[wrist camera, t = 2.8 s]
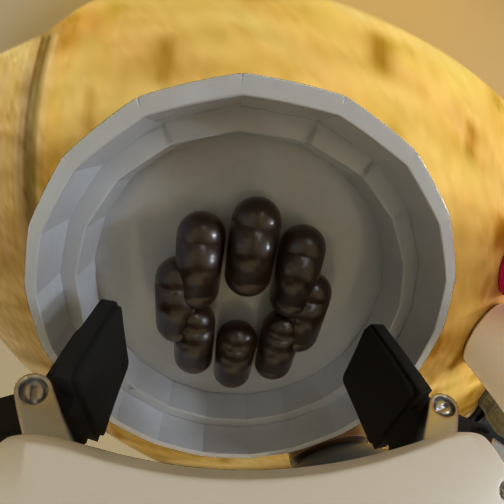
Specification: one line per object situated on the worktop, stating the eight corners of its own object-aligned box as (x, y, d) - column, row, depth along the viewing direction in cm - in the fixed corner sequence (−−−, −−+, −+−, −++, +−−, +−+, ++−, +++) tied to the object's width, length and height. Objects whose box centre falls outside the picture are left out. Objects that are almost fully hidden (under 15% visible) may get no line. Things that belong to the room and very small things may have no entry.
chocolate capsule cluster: (164, 181, 10) (152, 188, 8) (343, 207, 11) (362, 218, 9) (163, 362, 13) (157, 386, 11) (294, 372, 14) (300, 396, 12)
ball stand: (279, 394, 16) (312, 561, 5) (392, 385, 17) (452, 503, 6) (256, 451, 19) (269, 563, 8) (348, 443, 20) (379, 537, 9)
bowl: (83, 98, 9) (19, 86, 4) (429, 155, 11) (496, 169, 6) (103, 378, 14) (82, 431, 10) (340, 397, 16) (359, 447, 12)
